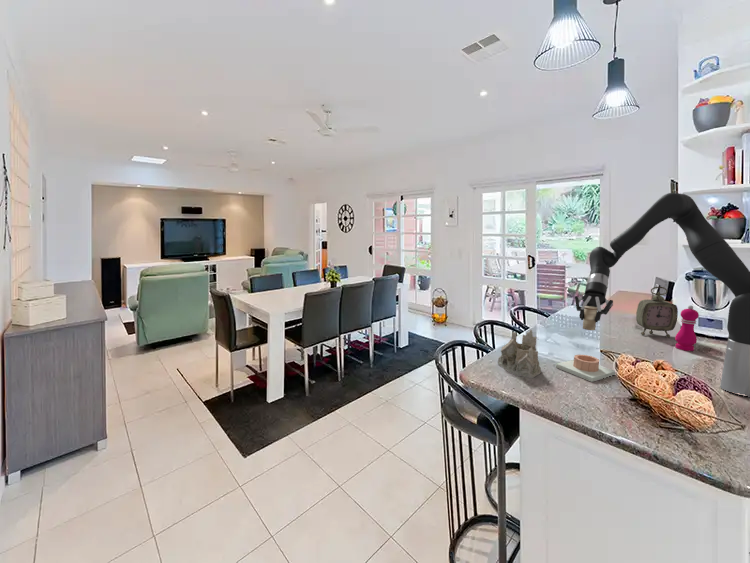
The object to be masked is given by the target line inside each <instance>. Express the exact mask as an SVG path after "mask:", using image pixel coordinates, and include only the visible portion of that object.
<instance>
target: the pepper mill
mask: <svg viewBox="0 0 750 563" xmlns="http://www.w3.org/2000/svg"><path fill="white" fill-rule="evenodd" d="M680 317H681V320H680V322H681V327H680V329H679V330H678V332H677V333H676V335H675V336H674V340H675V341H676V343H675V346H674V347H675V348H676V349H678V350H680V351H685V352H694V351H695V346H694V345H695V344H697V341H698V340H697V335H696V333H695V324H697V323H696V322H697V319H698V318H699V312H698V310H695V309H694V306H693V305H688V306H687V308H684V309H682V310H681V311H680Z"/></svg>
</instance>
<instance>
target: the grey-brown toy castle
mask: <svg viewBox="0 0 750 563" xmlns="http://www.w3.org/2000/svg"><path fill="white" fill-rule="evenodd" d="M521 340H522V341H521V343H518V341H517V332H516V331H513V332H512V333H511V339H510V340H509V341H508V342H507V343H506V344H505V345H503V346H502V347H501V350H500V353H501V354H500V356H499V357H498V358H497V359H498V360H497V365H498V366H500V367H501V368H503V369H504V370H506V371H507V372H508V373H510V374H512V375H514V376H518V377H523V378H528V379H533V378H536V377H538V376H539V375H540V374H541V373H542V372H541V370H542V368H541V366H540V361H539V357H538V356H539V351H538V350H537V349H536V344H537V337H536V336H533V330H532V329H529V331H527V333H526V334H523V335H522V338H521Z"/></svg>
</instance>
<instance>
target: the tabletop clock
mask: <svg viewBox="0 0 750 563" xmlns="http://www.w3.org/2000/svg"><path fill="white" fill-rule="evenodd" d="M655 289H664V290H665V292H664V293H661V292H660V291H658V292H657V293H655V292H653V290H655ZM650 293H651V294H653V295H654V296H652V297H651V299H643V300H640V301H639V303H638V304H637V308H636V313H635V314H636V317H635V318H636V319H635V320H636V324H637V325H639V326H640V327H642V328H643V331H642V332H640V334H641V335H642V336H645V333H646V331H647V330H649V331H648V332H649V334H650V335H653V333H654V331H658V332H659V331H660V332H665V337H666V338H670V337H671V334H670V333H668V332H669V331H670V332H671V331H673V330H674V329H675V327H676V324H677V321H678V314H679V311H678V310H679V309H678V306H677V305H676V304H674V303H673V302H669V301H667V300H665V298H664V297H663V295H666V294H668V289H667V288H666V287H664V286H654V287H652V288H651V289H650Z"/></svg>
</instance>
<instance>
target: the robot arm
mask: <svg viewBox="0 0 750 563" xmlns="http://www.w3.org/2000/svg"><path fill="white" fill-rule="evenodd" d="M668 219H671V220H673V221H674V222H675V223H676V224H677V225H678V226H679V227H680V228H681V230H682V232H683V233H684V235H685V238H686V241H687V243H688V248H689V249H690V252H691V253H692V255H693V257H694V258H695V259H696V260H697V262H698V263H699V264H700V265H701V267H703V268H704V270H706V271H707V272H708V273H709V274H711V275H712V276H714V278H716V279H718V280H719V281H720V282H722V283H723V284H724V285H725V286H726V287H727V288H728V289H729V290H730V291H731V293H732V294H733V296H734V298H733V299H732V300H731V303H730V305H729V310H728V316H727V326H726V329H727V332H728V337H727V343H726V349H725V355H724V361H723V367H722V372H721V377H720V378H721V379H720V385H719V388H720V387H721V388H722V389H721V388H720V389H721V390H723V389H724V390H723V391H725V390H726V391H725V392H727V391H729V392H734V393H740V394H745V395H747V396H748V397H747V398H749V397H750V270H749V268H748V267H747V266H746V264H745V263H744V262H743V260H741V258H740V257H739V256H738V254H737V253H736V251H735V250H734V249H733V248H732V247H731V246H730V244H729V243H728V242H727V241H726V240H725V239H724V238H723V236H721V234H720V233H719V232H718V231H717V230H716V229H715V227H714V226H713V225H711V224H710V222H709V221H708V220H707V219H706V218H705V216H704V214H703V213H702V212H701V210H700V208H699V207H698V205H697V202H695V201H694V199H693V197H691V196H689V195H687V194H685V193H679V192H668V193H665V194H663V195H662V196H660V197H659V198H658V199H657V200H656V201H655V202H654V203H653V204H652V205H651V206H650V207H649V208H648V209H647V210H646V211H645V212H644V213H643V214H642V215H641V216H640V217H639V218H638V219H637V220H636V221H635V222H634V223H632V224H631V225H630V226H629V227H628V228H626V229H625V230H624V231H622V232H621V233H620V234H619V235H618V236H616V237H615V238H613V239H612V240H611V241H610V242H609V246H610V248H611V249H612V251H613V252H612V251H610V250H608V249H607V248H605V247H603V246H597V247H595V248H593V249H592V250H591V251H590V254H589V267H590V273H589V277H588V279H587V281H586V286H585V289H584V294H583V295H581V296H580V297H579V296H578V295H575V296H574V302H575V307H576V311H577V312H579V319H580V320H581V321H583V318H584V307H585V306H594V307H597V313H596V318H595V322H596V323H598V322H600V321H601V317H602V315H608V314H609V311H610V310H611V309H612V307H613V306H614V300H613V299H610V300H609V299H607V298H606V295H607V292H608V288H609V278H610V273H611V270H610V268H612V267H614V266H615V265H616V264H617V263H618V262H619V260H620V259H621V258H622V257H623V256H624V254H625V253H627V252H628V251H629V250H631V249H632V248H634V246H636V245H637V244H639V243H640V242H642V240H643V239H644V238H645V236H646V235H647V234H648V233H649V232H650V231H651V230H652V229H654V228H655V227H656V226H658V224H660V223H662V222H665V221H666V220H668ZM581 302H583V304H582V306H580V303H581ZM604 304H605V306H604V308H602V307H601V306H603V305H604ZM729 392H728V393H729Z"/></svg>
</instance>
